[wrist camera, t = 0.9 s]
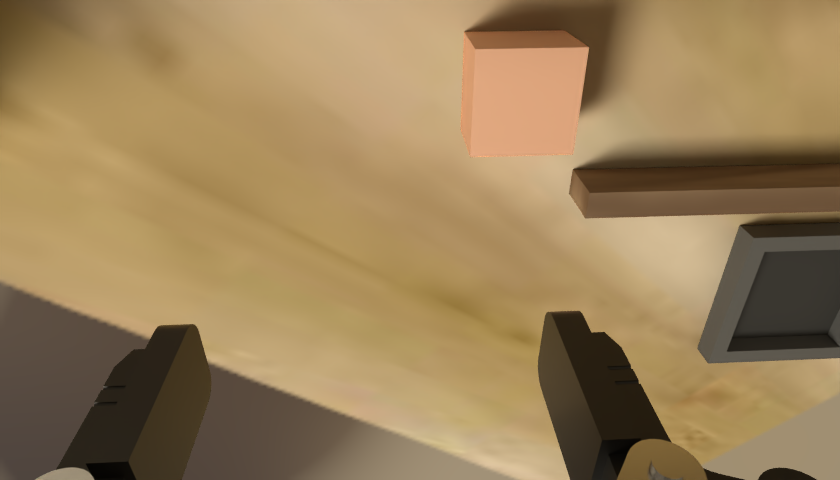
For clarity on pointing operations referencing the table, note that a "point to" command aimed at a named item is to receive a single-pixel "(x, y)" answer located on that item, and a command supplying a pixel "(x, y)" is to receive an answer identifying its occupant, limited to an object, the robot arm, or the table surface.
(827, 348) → the dark gray tray
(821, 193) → the wooden bars
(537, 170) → the table surface
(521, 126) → the terracotta block
